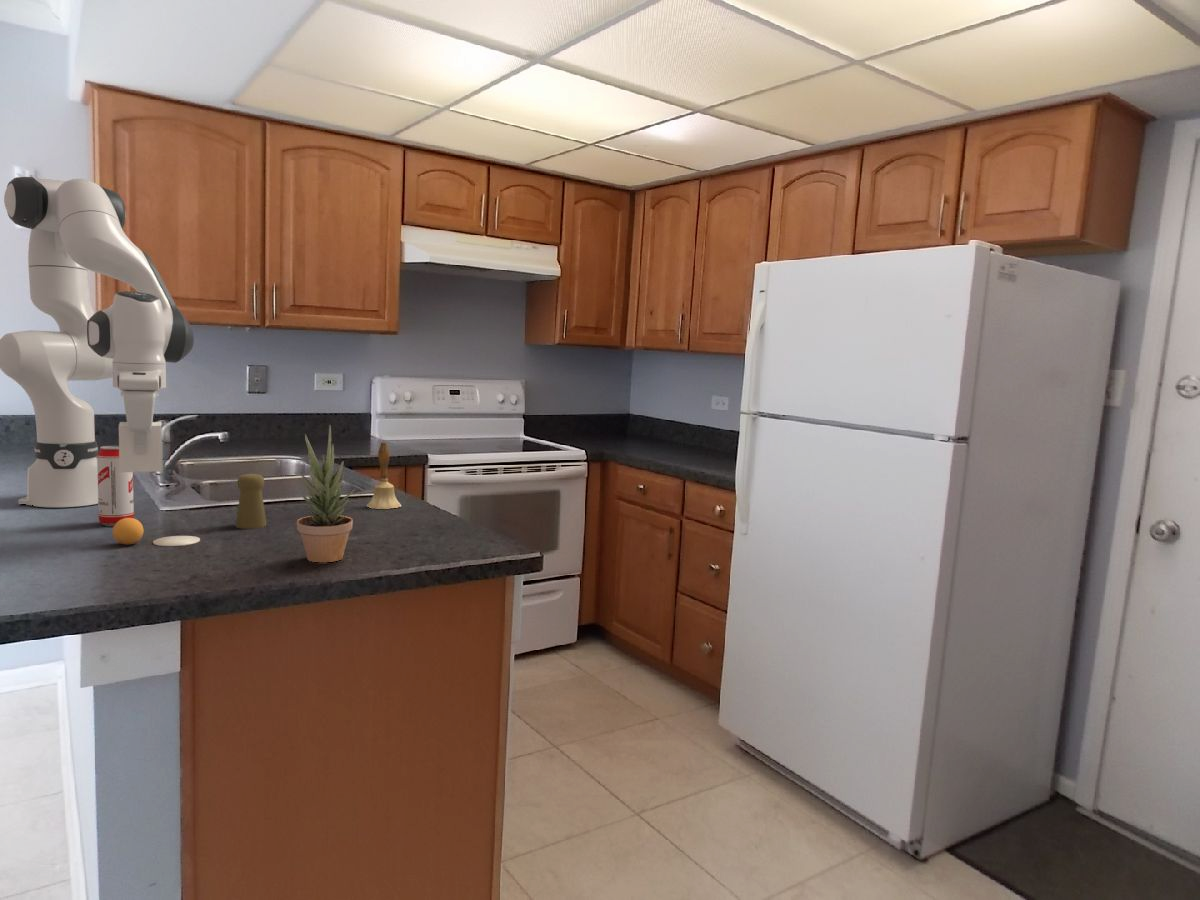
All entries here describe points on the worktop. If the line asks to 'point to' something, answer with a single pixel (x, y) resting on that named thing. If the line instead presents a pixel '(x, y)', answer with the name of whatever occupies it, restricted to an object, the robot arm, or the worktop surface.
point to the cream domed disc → (176, 541)
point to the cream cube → (140, 462)
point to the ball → (128, 531)
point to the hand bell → (384, 484)
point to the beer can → (113, 488)
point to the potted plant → (324, 510)
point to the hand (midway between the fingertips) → (141, 450)
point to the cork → (251, 502)
